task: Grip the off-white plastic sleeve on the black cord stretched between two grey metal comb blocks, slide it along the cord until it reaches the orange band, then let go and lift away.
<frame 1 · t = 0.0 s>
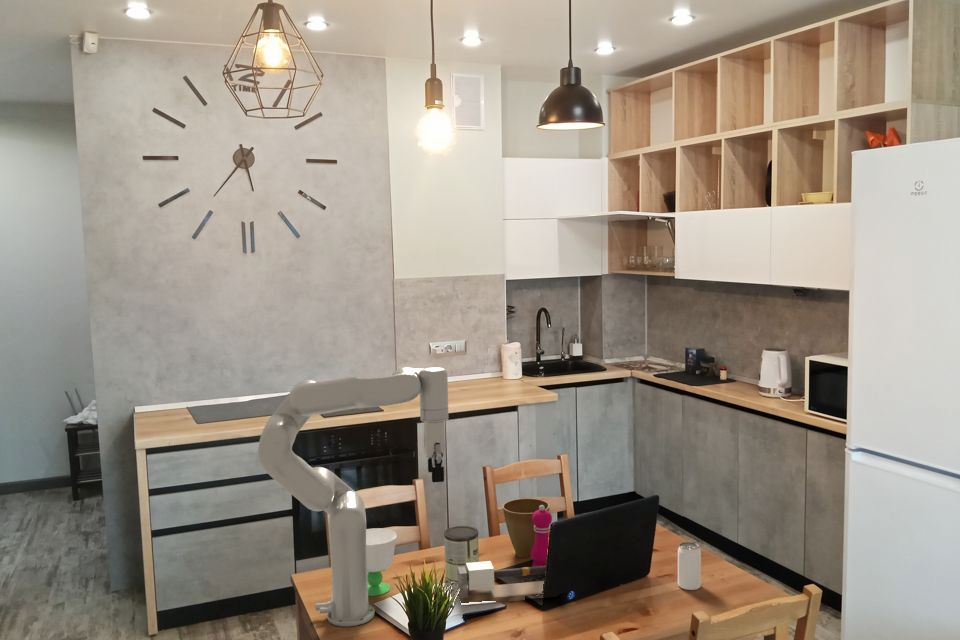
hand: (435, 476, 216), 37 cm above the table, tool pointing down, fingers open, 9 cm apart
cup: (375, 590, 232), on the table
marker sleeve: (480, 575, 225), point 6 cm above the table, slide at 0.0 cm
can: (689, 586, 230), on the table
cord comb: (508, 595, 226), on the table
pepper mill: (542, 569, 245), on the table
coffee can: (462, 578, 239), on the table
plant pot: (526, 554, 257), on the table
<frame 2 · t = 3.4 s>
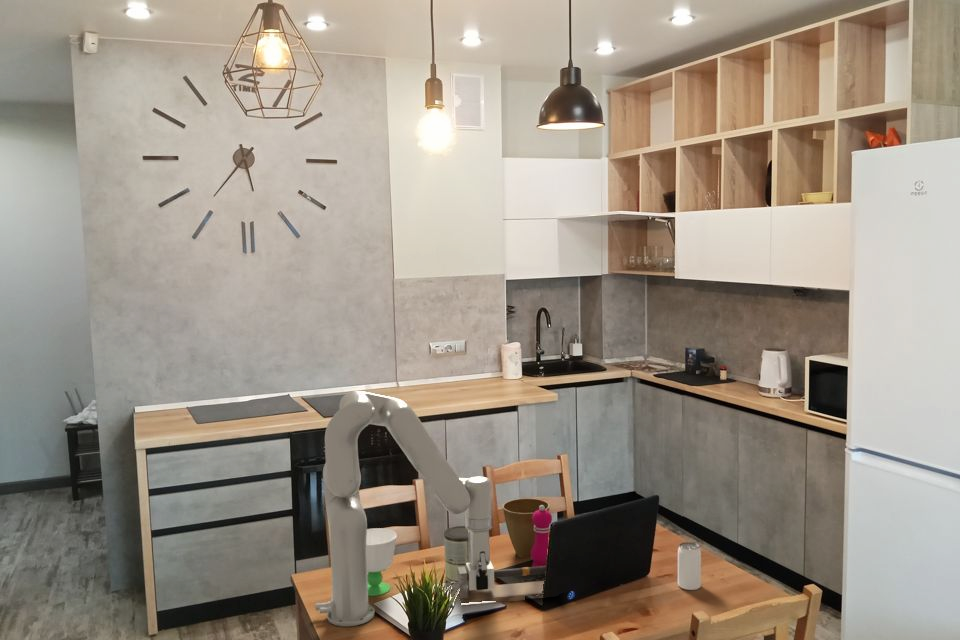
hand: (480, 583, 225), 4 cm above the table, tool pointing down, fingers closed on marker sleeve, 5 cm apart
marker sleeve: (480, 575, 225), point 6 cm above the table, slide at 0.0 cm, touching gripper
everything else where it was.
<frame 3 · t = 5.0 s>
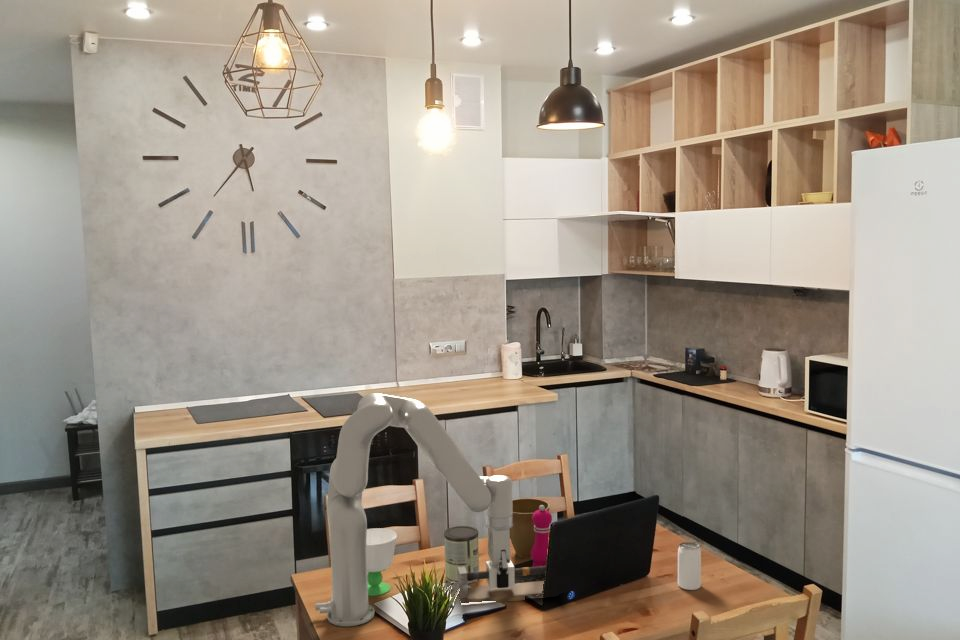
hand: (500, 582, 226), 4 cm above the table, tool pointing down, fingers closed on marker sleeve, 5 cm apart
marker sleeve: (500, 573, 226), point 7 cm above the table, slide at 5.8 cm, touching gripper
everything else where it was.
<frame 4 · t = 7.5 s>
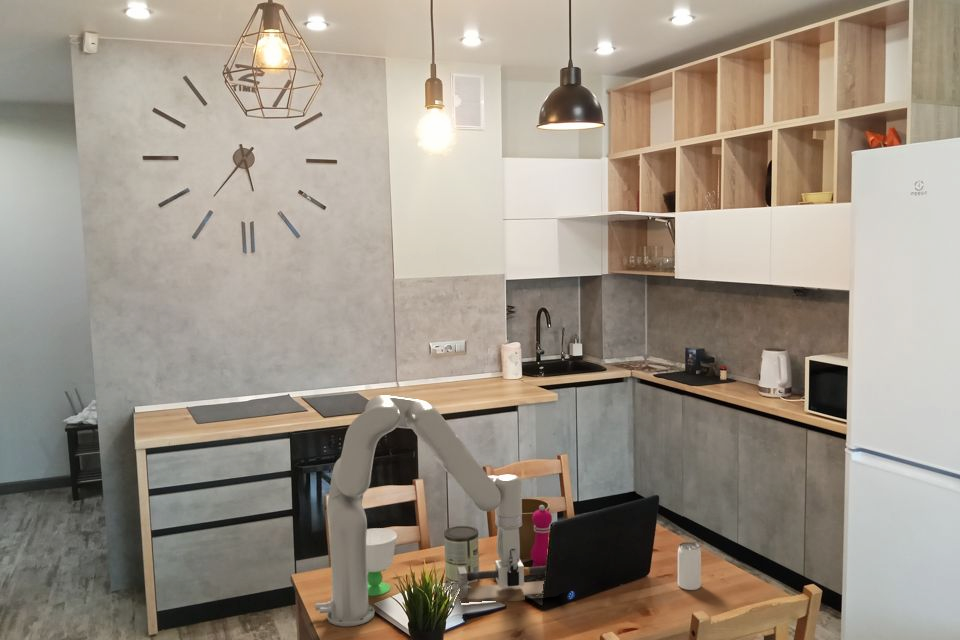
hand: (509, 578, 226), 5 cm above the table, tool pointing down, fingers open, 9 cm apart
marker sleeve: (509, 572, 226), point 7 cm above the table, slide at 8.5 cm
everything else where it was.
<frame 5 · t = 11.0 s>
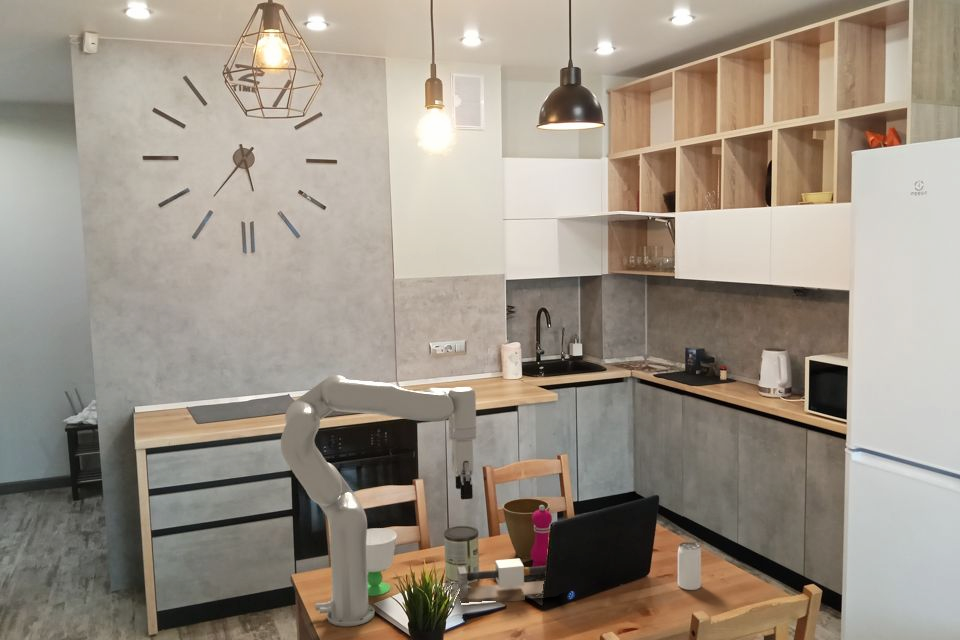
hand: (464, 493, 222), 30 cm above the table, tool pointing down, fingers open, 9 cm apart
nothing on the table moved.
at the end: marker sleeve slide at 8.5 cm; the gripper is holding nothing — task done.
